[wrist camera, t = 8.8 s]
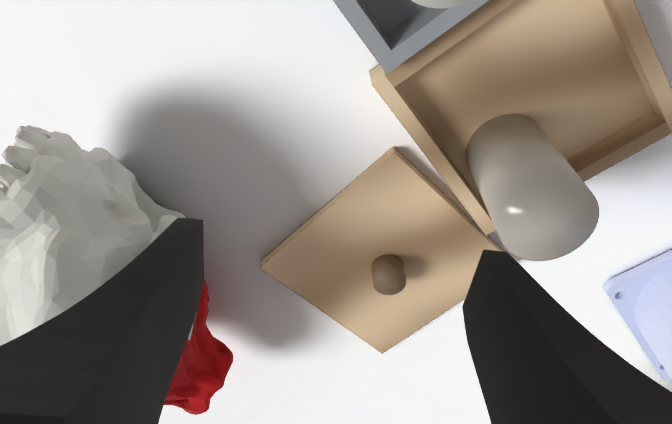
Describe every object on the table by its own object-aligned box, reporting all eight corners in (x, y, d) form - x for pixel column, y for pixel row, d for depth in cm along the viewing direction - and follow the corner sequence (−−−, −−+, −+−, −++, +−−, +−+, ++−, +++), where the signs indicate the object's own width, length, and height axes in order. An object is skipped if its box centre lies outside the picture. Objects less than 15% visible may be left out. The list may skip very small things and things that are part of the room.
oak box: (665, 108, 22) (686, 124, 21) (478, 216, 25) (486, 235, 24) (580, -84, 18) (599, -80, 17) (369, 70, 21) (371, 84, 20)
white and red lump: (66, 72, 21) (307, 269, 29) (-83, 218, 25) (168, 357, 33) (-40, 216, 14) (318, 423, 22) (-225, 390, 18) (139, 512, 26)
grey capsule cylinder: (558, 156, 23) (614, 230, 18) (489, 196, 24) (525, 275, 20) (523, 97, 21) (574, 162, 17) (451, 143, 23) (480, 215, 18)
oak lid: (511, 258, 27) (522, 281, 25) (381, 345, 30) (383, 370, 29) (392, 146, 23) (397, 166, 22) (261, 260, 27) (257, 284, 25)
